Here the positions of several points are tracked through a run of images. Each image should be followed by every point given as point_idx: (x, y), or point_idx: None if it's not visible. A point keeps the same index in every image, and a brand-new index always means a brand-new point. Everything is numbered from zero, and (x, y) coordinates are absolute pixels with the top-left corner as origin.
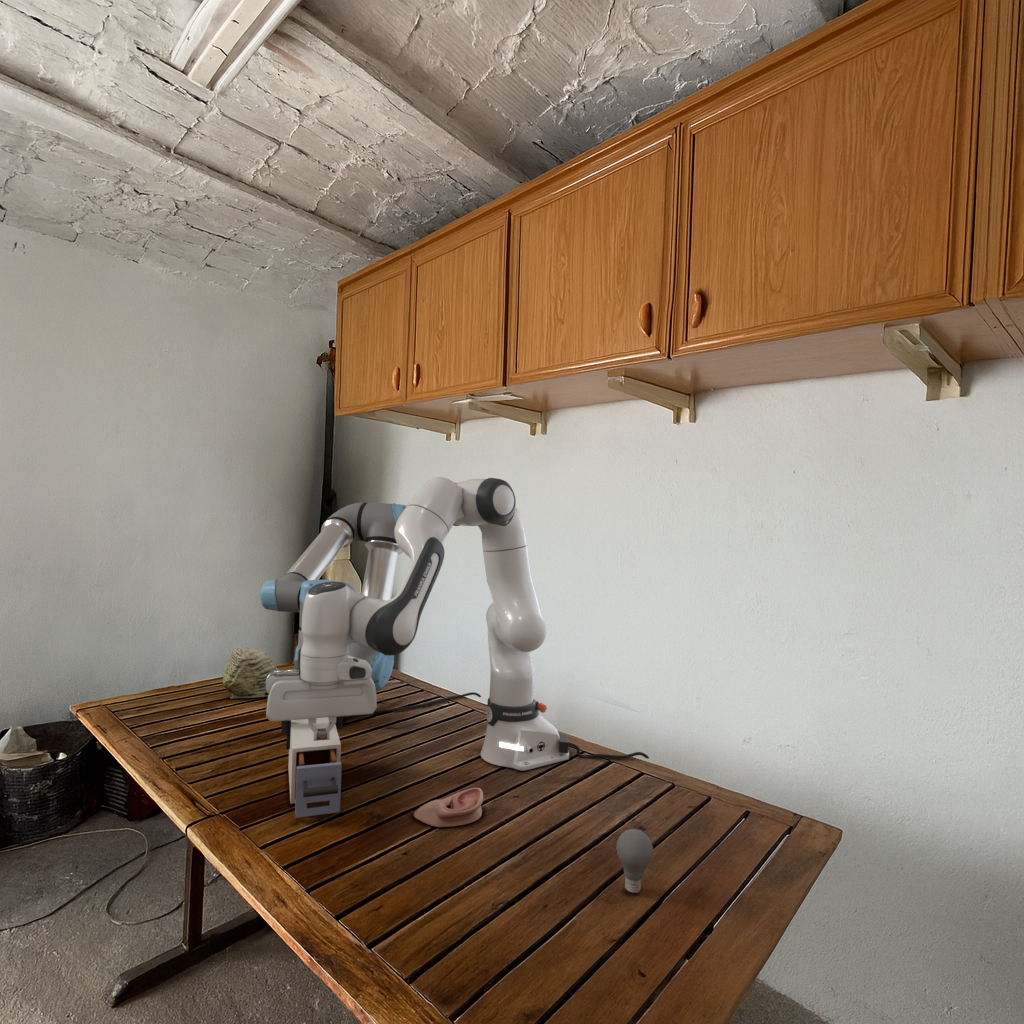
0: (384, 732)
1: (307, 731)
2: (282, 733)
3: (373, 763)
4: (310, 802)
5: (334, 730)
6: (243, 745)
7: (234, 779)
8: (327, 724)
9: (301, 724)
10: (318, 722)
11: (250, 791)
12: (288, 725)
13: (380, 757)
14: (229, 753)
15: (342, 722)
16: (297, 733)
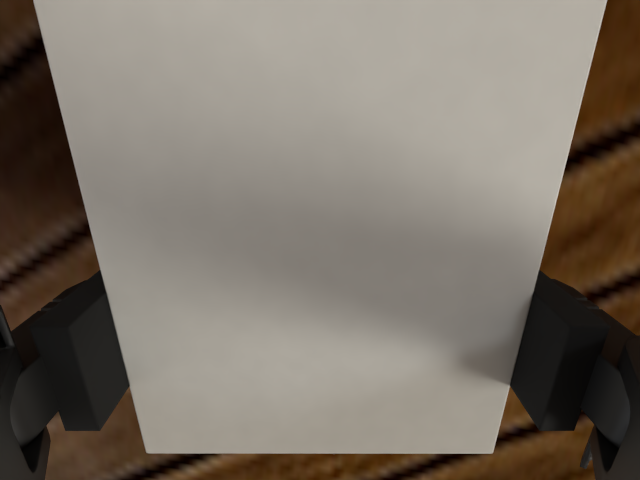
0: (46, 472)
1: (398, 93)
2: (556, 282)
3: (55, 225)
4: None
5: (72, 38)
6: (524, 469)
7: (621, 213)
8: (177, 263)
9: (427, 317)
10: (266, 331)
11: (591, 71)
12: (562, 298)
13: (31, 276)
14: (580, 425)
15: (45, 311)
16: (523, 50)
